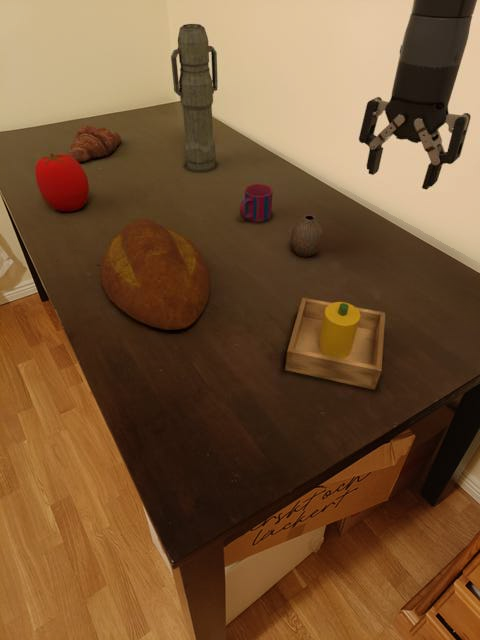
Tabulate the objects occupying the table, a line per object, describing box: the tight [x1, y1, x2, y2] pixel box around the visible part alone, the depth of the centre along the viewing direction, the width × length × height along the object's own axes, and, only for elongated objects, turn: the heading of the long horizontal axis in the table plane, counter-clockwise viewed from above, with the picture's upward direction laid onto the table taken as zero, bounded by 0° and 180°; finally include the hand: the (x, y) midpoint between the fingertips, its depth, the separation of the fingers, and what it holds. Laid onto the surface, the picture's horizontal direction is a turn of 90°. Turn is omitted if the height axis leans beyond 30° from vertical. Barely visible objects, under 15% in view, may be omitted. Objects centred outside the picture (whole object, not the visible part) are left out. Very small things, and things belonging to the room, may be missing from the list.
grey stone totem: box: [170, 23, 219, 172], centre depth 116 cm, size 9×12×35 cm
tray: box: [284, 297, 386, 390], centre depth 73 cm, size 15×14×5 cm
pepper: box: [319, 301, 360, 359], centre depth 71 cm, size 6×6×10 cm
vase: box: [290, 214, 324, 258], centre depth 93 cm, size 7×7×9 cm
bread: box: [99, 218, 212, 331], centre depth 83 cm, size 21×33×12 cm, turn 21°
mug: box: [239, 183, 273, 223], centre depth 104 cm, size 7×10×7 cm
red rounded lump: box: [34, 152, 90, 213], centre depth 106 cm, size 13×11×14 cm
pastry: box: [68, 125, 122, 163], centre depth 133 cm, size 17×15×8 cm
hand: (398, 179), depth 65 cm, fingers open, 8 cm apart
